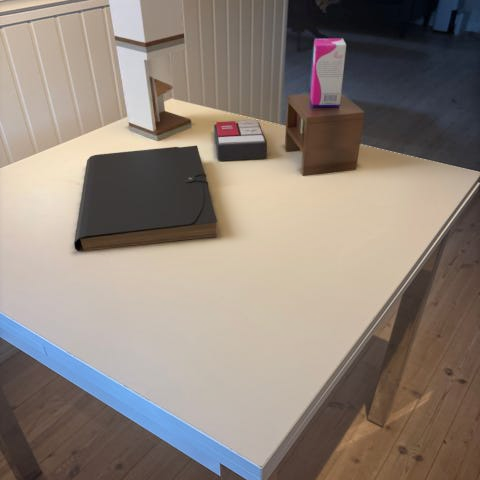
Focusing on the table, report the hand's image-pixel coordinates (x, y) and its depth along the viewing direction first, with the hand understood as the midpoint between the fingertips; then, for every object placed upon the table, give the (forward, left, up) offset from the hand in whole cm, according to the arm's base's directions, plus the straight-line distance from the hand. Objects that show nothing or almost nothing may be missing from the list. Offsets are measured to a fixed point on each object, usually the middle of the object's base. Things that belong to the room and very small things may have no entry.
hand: (346, 2), depth 86 cm
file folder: (+40, +7, -30) cm, 51 cm away
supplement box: (+1, -4, -18) cm, 19 cm away
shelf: (+1, -4, -30) cm, 30 cm away
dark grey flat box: (+17, -15, -30) cm, 38 cm away
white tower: (+34, -31, -30) cm, 55 cm away
